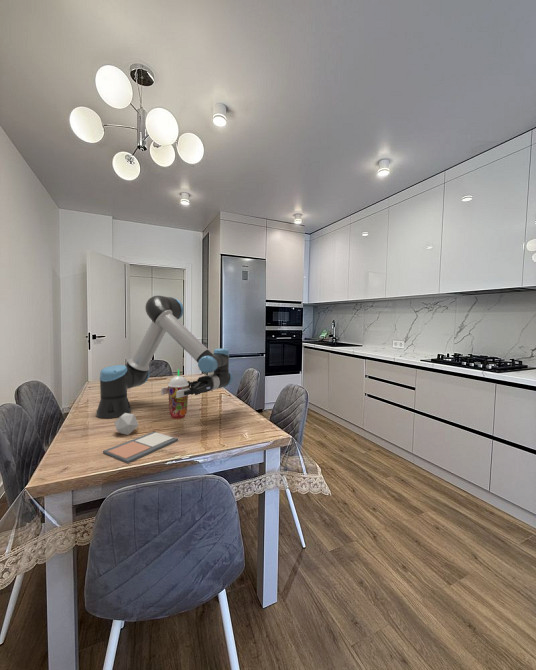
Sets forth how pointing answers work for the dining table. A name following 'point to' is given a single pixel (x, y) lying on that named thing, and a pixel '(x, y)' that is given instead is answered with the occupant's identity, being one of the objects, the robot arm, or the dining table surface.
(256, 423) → the dining table surface
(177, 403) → the smoothie
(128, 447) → the game board
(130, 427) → the die
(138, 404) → the dining table surface
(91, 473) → the dining table surface
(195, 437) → the dining table surface
